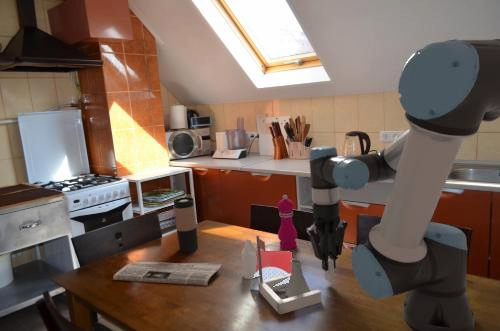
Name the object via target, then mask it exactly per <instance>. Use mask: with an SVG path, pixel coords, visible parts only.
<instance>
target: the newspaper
mask: <svg viewBox="0 0 500 331" xmlns="http://www.w3.org/2000/svg"><path fill="white" fill-rule="evenodd" d="M222 265H223V261H212V262H211V261H210V262H209V261H208V262H181V263H177V262H176V263H175V262H159V261H146V260H145V261H144V260H136V261H135V262H130V263H128V264H126V265H125V266H123V267H122V268H120V269H119V270H118V271H117V272H116V273H114V275H113V277H112V278H113V280H114V281H128V282H145V283H146V282H148V283H161V284H162V283H164V284H165V283H166V284H178V285H193V286H194V285H195V286H208V284H209V282H210V279H211V277H212V276H213V275H215V273H219V270H220V268H221V267H222Z"/></svg>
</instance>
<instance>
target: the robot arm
mask: <svg viewBox="0 0 500 331" xmlns="http://www.w3.org/2000/svg"><path fill="white" fill-rule="evenodd" d="M397 92H398V94H399V95H400V97H399V98H398V100H399V102H400V105H401V107H402V108H403V110H404V111H405V113H404V118H405V120H406V121H407V123H408V125H409V126H410V128H409V129H407V130H406V131H405V132H403V133H402V134H401V135H399V137H397V138H396V139H395V140H394V141H392V142H391V143H390V144H388V145H387V146H386V147H385V148H384V149H382V150H381V151H379V152H373V153H367V154H360V155H352V156H346V157H344V156H338V155H339V154H338V150H337V148H336V147H335V146H331V145H330V146H329V145H326V146H325V145H324V146H316V147H315V146H314V147H312V148H311V149H310V150H309V161H308V162H309V170H310V171H309V172H310V185H311V200H312V205H311V206H312V207H311V208H312V215H313V221H312V224H311V226H310V227H306V228H305V232H306V233H307V234H308V237H309V239H310V243H311V247H312V250H313V254H314V256H315V258H316V259H318V260H320V261H321V268H322V270H323V271H324V279H325V280H326V281H328V282H329V283H332V282H335V269H336V268H337V264H336V262H337V260H338V259H339V257H338V256H341V255H342V253H343V252H342V251H343V247H344V239H345V232H346V230H347V227H348V224H349V223H348V222H347V221H345V220H342V219H341V217H340V214H341V212H340V210H341V209H340V202H339V200H340V190H339V189H340V188H342V189H345V190H352V191H358V190H361V189H362V188H363V187H364V186H365V185H367V184H372V183H373V184H374V183H378V182H379V183H380V182H385V181H393V182H392V185H391V189H390V191H389V194H388V198H387V200H386V202H385V203H386V204H385V207H384V209H383V214H382V217H381V220H380V223H378V224H376V225H374V226H372V227H371V228H370V230H369V233H368V237H367V239H366V243H364V244H358V245H356V246H355V247H353V249H352V250H351V254H350V261H351V268H352V272H353V274H354V276H355V278H356V281H357V282H358V285H359V286H360V287H361V288H362V290H363V291H364V292H365V294H367V295H368V296H370V297H371V298H373V299H378V300H381V299H385V298H386V299H387V298H392V297H394V296H398V295H401V294H405V293H406V294H407V295H406V297H405V300H404V302H403V306H402V310H403V311H402V315H403V319H404V320H405V322H406V323H407V324H408V325H409V326H410V327H411V328H413V329H415V330H416V331H474V330H475V322H476V321H475V320H476V318H475V314H474V312H473V310H472V308H471V305H470V301H469V298H468V295H467V266H468V265H467V264H468V263H467V262H468V261H467V260H468V246H467V236H466V234H465V233H464V231H462V230H461V229H460V228H458V227H455V226H453V225H449V224H444V223H438V222H433V221H432V218H433V215H434V212H435V210H436V208H437V206H438V203H439V200H440V198H441V196H442V193H443V190H444V188H445V185H446V183H447V180H448V178H449V176H450V174H451V171H452V168H453V166H454V164H455V161H456V158H457V156H458V153H459V151H460V148H461V146H462V144H463V141H464V140H465V139H468V138H470V137H473V136H475V135H476V134H477V133H478V131H479V128H480V126H481V124H482V122H484V123H490V122H494V121H496V120H498V119H499V118H500V38H495V39H463V40H462V39H448V40H444V41H438V42H432V43H428V44H426V45H424V46H422V47H421V48H420V49H418V50H417V51H414V53H413V54H412V55H411V56H410V57H409V58H408V60H407V61H406V62H405V64H404V66H403V68H402V70H401V73H400V76H399V80H398V84H397ZM317 231H318V232H317ZM317 233H318V235H317ZM318 236H319V238H318Z"/></svg>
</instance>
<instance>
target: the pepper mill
mask: <svg viewBox="0 0 500 331" xmlns="http://www.w3.org/2000/svg"><path fill="white" fill-rule="evenodd" d="M294 207H295V205H294V202H293V201H292V200H291V199H289V198H288V195H286V194H284V195H282V199H280V200H279V202H277V210H278V211H279V217H280V227H279V229H278V232H277V237H278V240H279V241H280V242H279V247H280V249H282V250H285V251H286V250H293V249H296V248H297V241H296V240H297V238H298V232H297V230H296V228H295V226H294V223H293V216H294V212H293V210H294Z"/></svg>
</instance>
